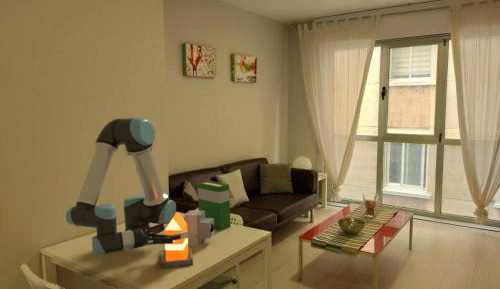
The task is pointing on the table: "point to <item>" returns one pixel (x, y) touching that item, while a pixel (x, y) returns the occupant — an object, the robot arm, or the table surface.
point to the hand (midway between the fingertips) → (183, 229)
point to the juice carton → (178, 247)
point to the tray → (176, 262)
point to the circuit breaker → (198, 227)
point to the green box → (215, 203)
